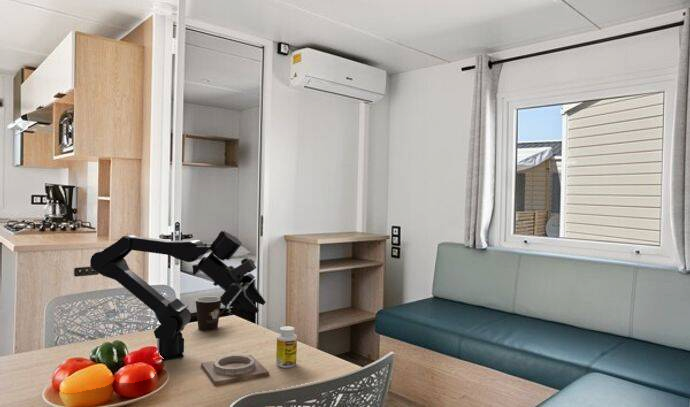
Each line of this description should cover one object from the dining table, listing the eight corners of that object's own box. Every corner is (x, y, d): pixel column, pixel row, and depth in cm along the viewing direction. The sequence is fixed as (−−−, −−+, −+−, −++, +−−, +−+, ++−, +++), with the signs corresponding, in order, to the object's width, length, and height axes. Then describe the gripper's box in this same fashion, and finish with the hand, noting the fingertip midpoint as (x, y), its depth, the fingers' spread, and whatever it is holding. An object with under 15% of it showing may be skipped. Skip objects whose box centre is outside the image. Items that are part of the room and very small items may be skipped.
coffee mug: (197, 333, 155) (198, 303, 154) (192, 326, 162) (193, 297, 162) (232, 329, 160) (232, 300, 160) (226, 322, 168) (227, 294, 167)
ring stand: (214, 385, 114) (215, 375, 114) (201, 366, 126) (201, 357, 126) (269, 375, 121) (269, 366, 121) (250, 358, 133) (251, 349, 133)
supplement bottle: (284, 370, 125) (285, 332, 125) (272, 364, 129) (272, 327, 129) (300, 365, 129) (301, 328, 128) (288, 359, 133) (289, 324, 132)
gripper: (227, 255, 123) (273, 292, 122) (244, 246, 141) (284, 279, 141) (201, 287, 123) (246, 325, 123) (221, 274, 142) (261, 307, 141)
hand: (261, 307), depth 132 cm, fingers open, 9 cm apart
